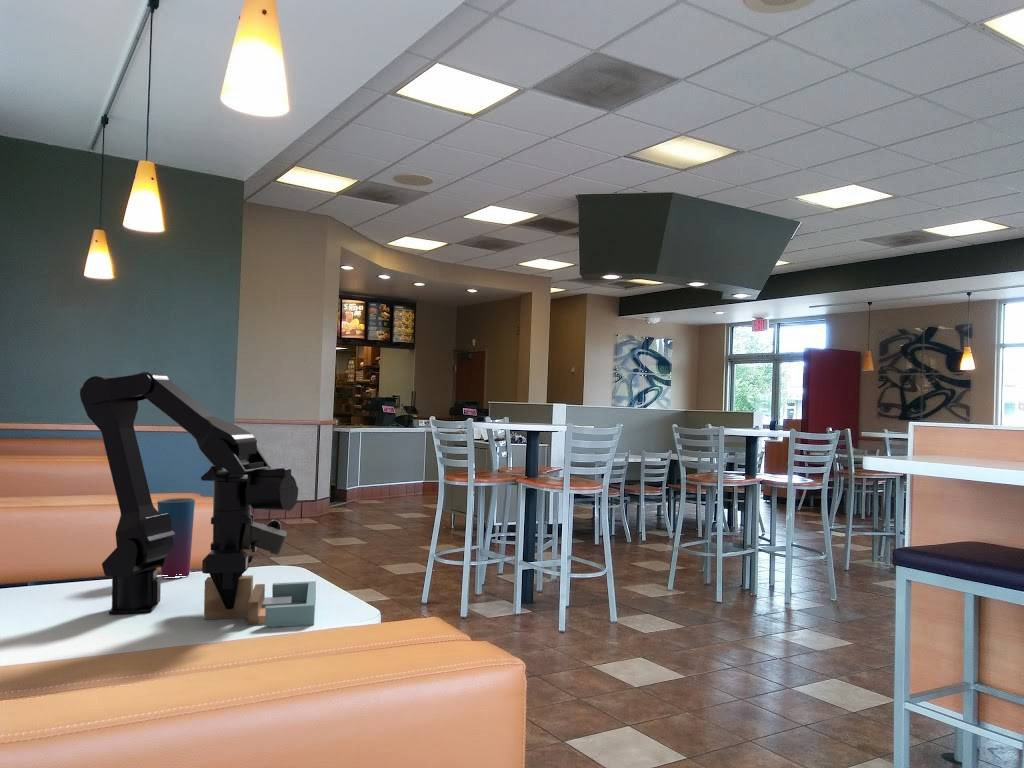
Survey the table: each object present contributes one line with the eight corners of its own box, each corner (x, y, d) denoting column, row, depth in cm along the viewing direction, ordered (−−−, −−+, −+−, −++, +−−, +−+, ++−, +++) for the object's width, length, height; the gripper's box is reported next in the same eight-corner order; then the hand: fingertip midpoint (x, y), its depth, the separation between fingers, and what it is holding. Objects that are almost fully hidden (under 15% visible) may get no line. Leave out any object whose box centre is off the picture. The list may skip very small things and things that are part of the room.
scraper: (199, 627, 117) (199, 587, 117) (211, 607, 129) (212, 571, 129) (257, 624, 119) (258, 585, 119) (264, 604, 131) (265, 569, 131)
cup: (168, 582, 147) (168, 503, 147) (149, 577, 151) (150, 500, 151) (201, 575, 152) (201, 499, 153) (182, 570, 156) (183, 497, 157)
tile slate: (262, 613, 126) (262, 604, 126) (264, 606, 130) (264, 597, 131) (290, 611, 127) (290, 602, 127) (291, 605, 132) (292, 596, 132)
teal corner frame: (265, 627, 117) (265, 608, 117) (272, 600, 133) (273, 583, 133) (313, 624, 119) (314, 605, 119) (315, 598, 135) (315, 581, 135)
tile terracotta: (258, 625, 119) (258, 616, 119) (260, 617, 124) (260, 608, 124) (288, 623, 120) (288, 614, 120) (289, 616, 125) (289, 606, 125)
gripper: (280, 515, 117) (279, 619, 117) (287, 500, 135) (286, 589, 135) (202, 518, 114) (201, 623, 114) (220, 502, 133) (219, 593, 132)
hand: (231, 606), depth 124 cm, fingers closed on scraper, 3 cm apart
